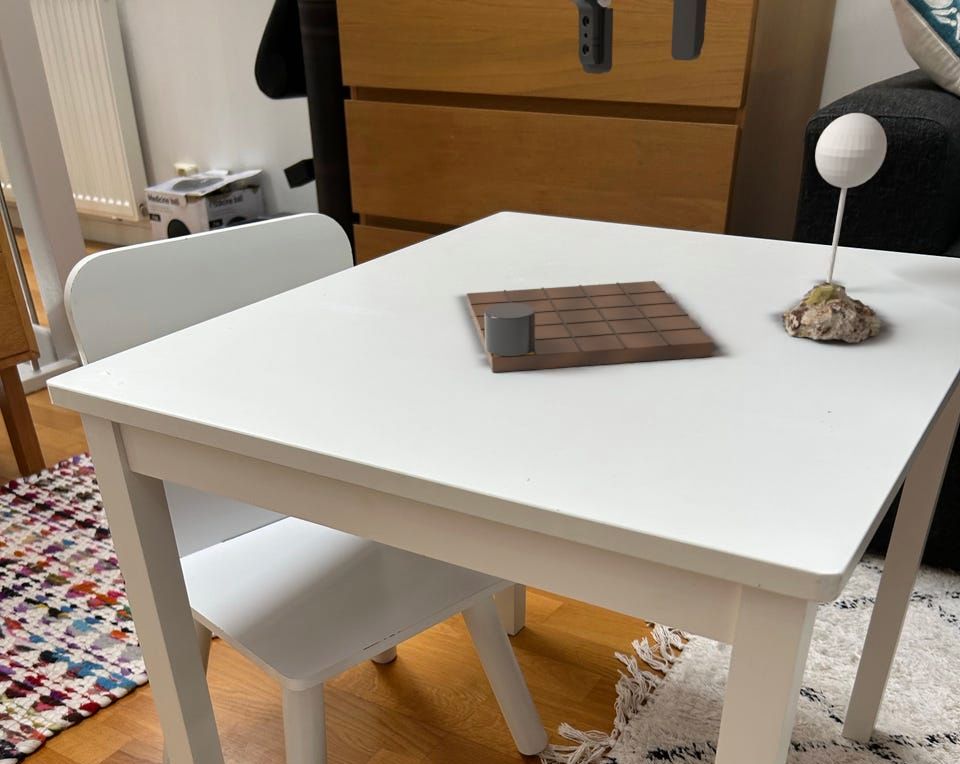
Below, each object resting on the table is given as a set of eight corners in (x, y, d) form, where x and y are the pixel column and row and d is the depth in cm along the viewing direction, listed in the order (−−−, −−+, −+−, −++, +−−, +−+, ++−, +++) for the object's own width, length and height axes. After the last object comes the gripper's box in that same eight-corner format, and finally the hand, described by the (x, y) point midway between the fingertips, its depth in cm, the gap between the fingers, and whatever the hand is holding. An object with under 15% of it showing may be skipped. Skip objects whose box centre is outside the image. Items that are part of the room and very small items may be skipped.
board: (653, 293, 95) (654, 279, 94) (712, 356, 80) (714, 340, 80) (467, 306, 93) (466, 292, 93) (492, 372, 79) (491, 356, 78)
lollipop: (858, 302, 91) (893, 119, 82) (792, 298, 92) (819, 118, 84) (860, 284, 95) (893, 108, 87) (797, 280, 97) (823, 107, 88)
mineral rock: (897, 321, 79) (800, 289, 79) (871, 372, 81) (777, 341, 82) (884, 287, 88) (797, 259, 88) (861, 334, 90) (776, 306, 90)
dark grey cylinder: (530, 338, 81) (530, 301, 80) (539, 354, 78) (539, 316, 76) (482, 341, 81) (481, 304, 79) (488, 358, 78) (487, 319, 76)
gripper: (609, -258, 54) (603, 81, 63) (781, -250, 60) (753, 57, 70) (522, -237, 59) (529, 75, 68) (690, -231, 66) (675, 53, 75)
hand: (642, 65), depth 69 cm, fingers open, 8 cm apart
